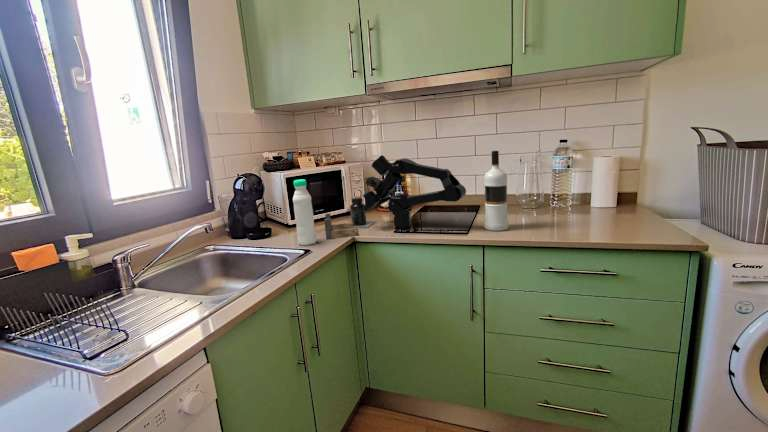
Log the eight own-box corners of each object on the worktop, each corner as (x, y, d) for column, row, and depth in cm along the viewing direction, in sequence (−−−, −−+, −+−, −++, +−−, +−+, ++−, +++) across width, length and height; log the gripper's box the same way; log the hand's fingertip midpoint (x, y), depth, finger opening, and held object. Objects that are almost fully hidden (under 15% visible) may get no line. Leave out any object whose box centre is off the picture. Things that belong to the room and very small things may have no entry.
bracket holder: (356, 228, 164) (354, 210, 162) (357, 236, 151) (355, 216, 150) (327, 231, 163) (325, 213, 161) (326, 239, 150) (324, 219, 149)
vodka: (481, 231, 144) (479, 152, 138) (487, 225, 152) (485, 150, 145) (506, 232, 139) (505, 151, 133) (511, 226, 147) (510, 149, 141)
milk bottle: (308, 246, 142) (299, 181, 137) (294, 244, 146) (286, 181, 140) (320, 241, 148) (312, 178, 143) (307, 240, 151) (299, 178, 146)
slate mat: (375, 221, 174) (375, 220, 174) (367, 228, 163) (367, 227, 163) (351, 221, 178) (351, 221, 178) (342, 228, 167) (342, 227, 167)
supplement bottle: (369, 224, 169) (366, 197, 166) (355, 226, 166) (352, 200, 163) (362, 221, 175) (360, 196, 172) (349, 224, 172) (346, 198, 169)
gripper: (386, 167, 168) (368, 192, 175) (364, 172, 152) (345, 199, 160) (404, 184, 165) (384, 209, 173) (383, 191, 149) (363, 218, 157)
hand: (369, 208), depth 166 cm, fingers open, 9 cm apart
